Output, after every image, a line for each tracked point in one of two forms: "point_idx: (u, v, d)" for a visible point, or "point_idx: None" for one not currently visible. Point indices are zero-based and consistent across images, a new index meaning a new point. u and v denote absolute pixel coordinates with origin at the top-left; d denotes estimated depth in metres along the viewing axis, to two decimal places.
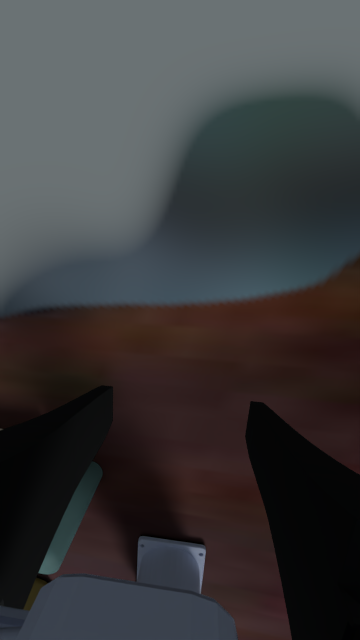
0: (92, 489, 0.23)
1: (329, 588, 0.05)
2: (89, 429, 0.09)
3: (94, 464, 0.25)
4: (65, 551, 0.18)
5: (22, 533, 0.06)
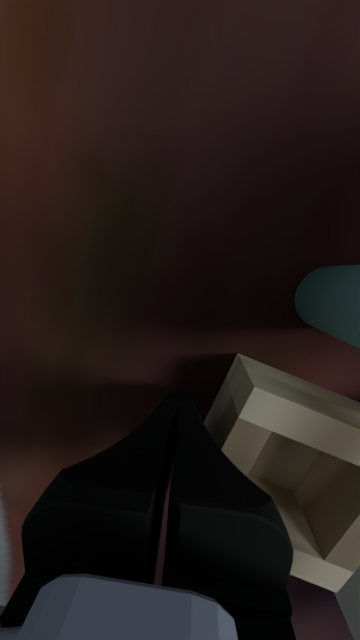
0: None
1: None
2: (172, 439, 0.09)
3: (310, 274, 0.10)
4: None
5: (153, 553, 0.06)
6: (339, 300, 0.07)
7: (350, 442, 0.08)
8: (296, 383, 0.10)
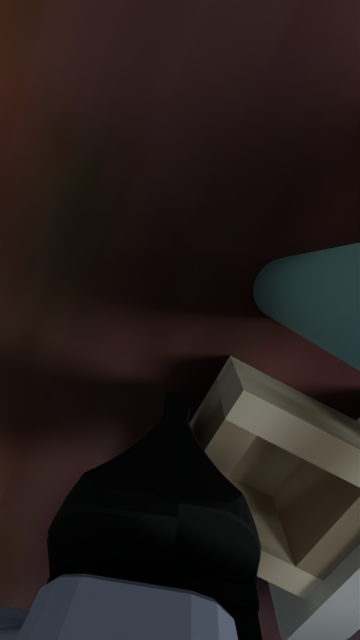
0: None
1: None
2: None
3: (269, 263, 0.10)
4: None
5: None
6: (280, 283, 0.07)
7: (332, 452, 0.08)
8: (285, 390, 0.11)
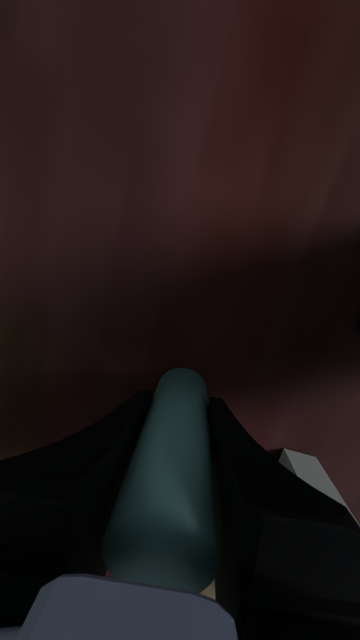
0: (176, 388, 0.11)
1: (233, 573, 0.05)
2: (136, 435, 0.09)
3: (162, 377, 0.13)
4: (175, 484, 0.06)
5: (96, 544, 0.06)
6: None
7: None
8: None
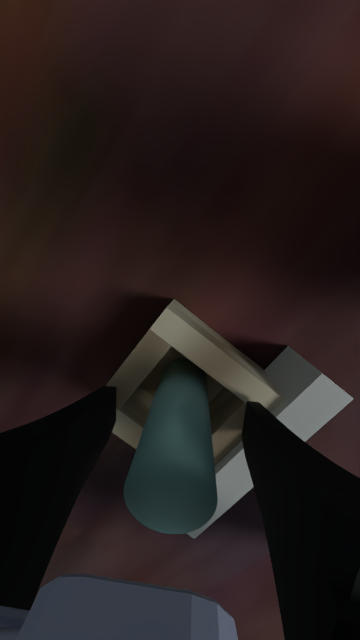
0: (179, 374, 0.12)
1: (319, 586, 0.05)
2: (93, 429, 0.09)
3: (166, 366, 0.14)
4: (182, 441, 0.07)
5: (29, 534, 0.06)
6: None
7: (224, 368, 0.11)
8: (208, 330, 0.13)
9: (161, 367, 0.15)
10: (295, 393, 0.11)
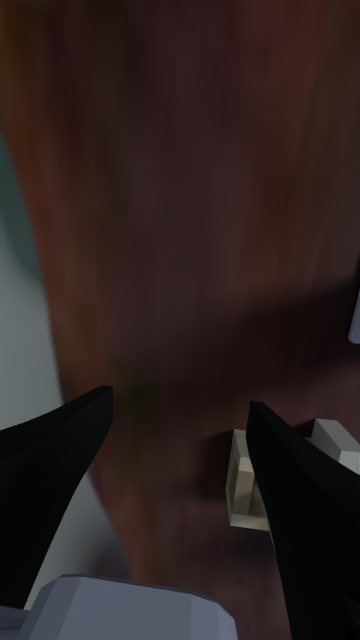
0: None
1: (329, 588, 0.05)
2: (89, 429, 0.09)
3: None
4: None
5: (22, 533, 0.06)
6: None
7: None
8: None
9: None
10: None
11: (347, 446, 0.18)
